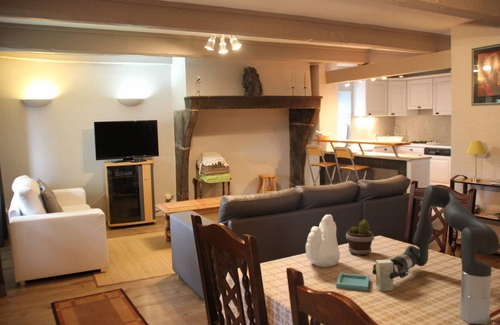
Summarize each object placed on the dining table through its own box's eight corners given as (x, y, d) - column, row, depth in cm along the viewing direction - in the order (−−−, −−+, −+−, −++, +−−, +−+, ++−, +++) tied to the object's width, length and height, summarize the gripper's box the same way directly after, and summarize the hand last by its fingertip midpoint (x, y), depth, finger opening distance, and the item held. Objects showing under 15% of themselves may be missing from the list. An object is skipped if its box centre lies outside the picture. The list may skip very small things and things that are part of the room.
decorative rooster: (322, 256, 222) (322, 210, 219) (347, 264, 210) (347, 215, 207) (289, 267, 206) (289, 217, 203) (314, 276, 194) (314, 223, 191)
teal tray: (367, 291, 176) (367, 286, 176) (336, 288, 180) (336, 283, 180) (369, 280, 188) (369, 275, 188) (339, 277, 192) (339, 272, 192)
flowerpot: (340, 250, 231) (340, 214, 230) (364, 247, 236) (365, 212, 234) (354, 258, 218) (354, 220, 216) (379, 255, 222) (380, 218, 220)
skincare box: (389, 286, 181) (390, 259, 179) (393, 290, 176) (394, 262, 175) (375, 287, 180) (375, 259, 179) (378, 291, 176) (378, 262, 175)
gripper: (385, 252, 192) (366, 261, 181) (416, 259, 182) (398, 269, 171) (384, 268, 193) (366, 278, 182) (415, 276, 183) (398, 287, 171)
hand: (382, 274), depth 176 cm, fingers closed on skincare box, 7 cm apart
